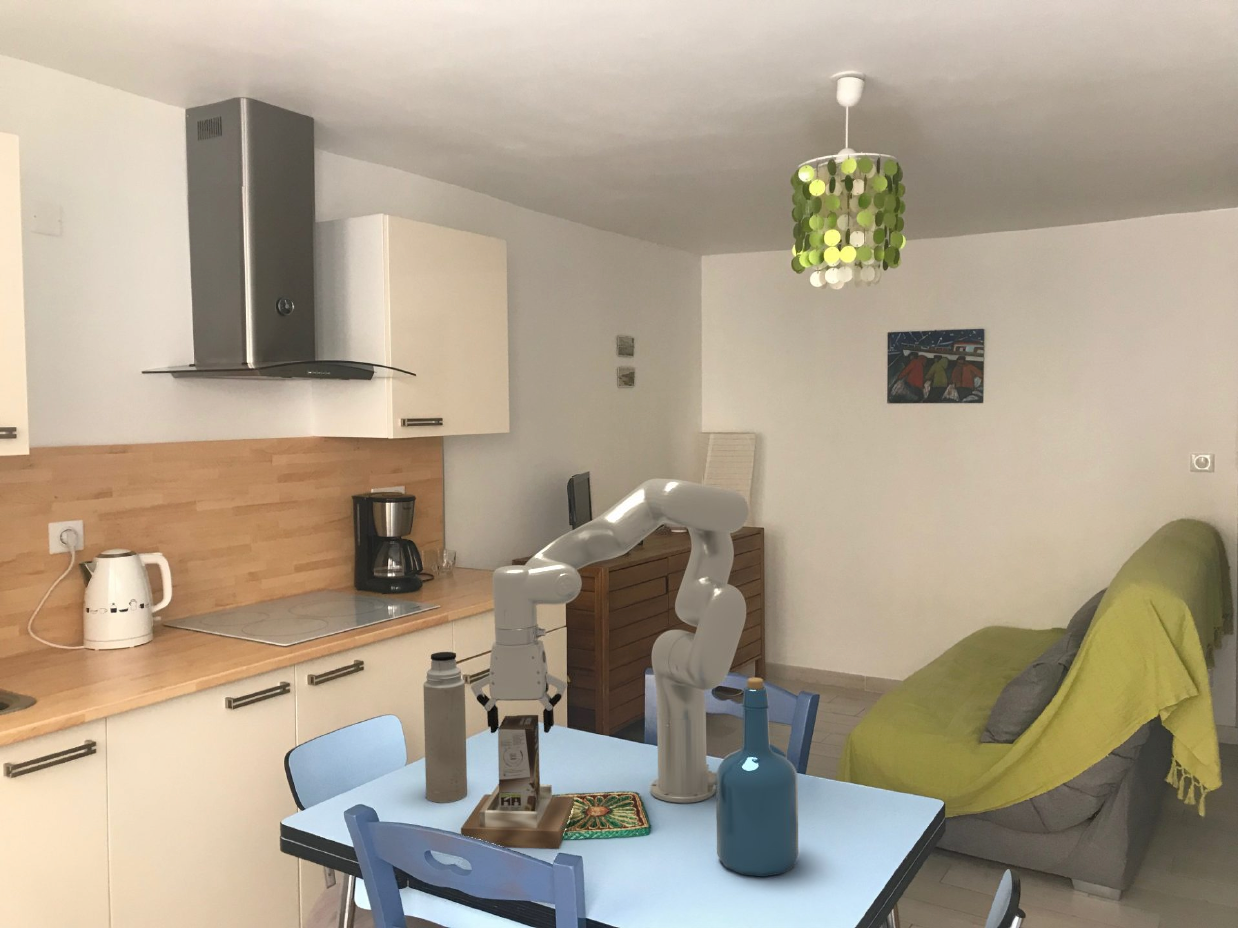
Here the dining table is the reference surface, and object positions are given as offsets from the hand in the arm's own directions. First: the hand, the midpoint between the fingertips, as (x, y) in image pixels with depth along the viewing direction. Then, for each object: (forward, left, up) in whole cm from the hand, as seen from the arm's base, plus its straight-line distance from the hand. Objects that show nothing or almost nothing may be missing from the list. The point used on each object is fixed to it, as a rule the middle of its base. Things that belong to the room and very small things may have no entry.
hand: (521, 730), depth 175 cm
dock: (+1, 0, -18) cm, 18 cm away
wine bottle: (-41, +10, -18) cm, 46 cm away
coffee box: (0, 0, -15) cm, 15 cm away
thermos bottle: (+19, -15, -18) cm, 30 cm away
